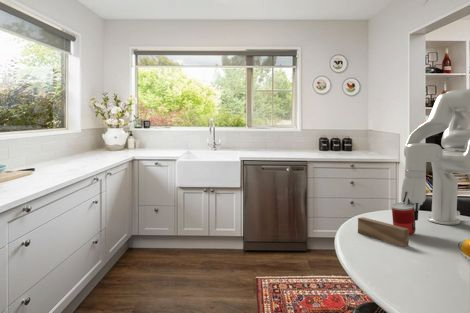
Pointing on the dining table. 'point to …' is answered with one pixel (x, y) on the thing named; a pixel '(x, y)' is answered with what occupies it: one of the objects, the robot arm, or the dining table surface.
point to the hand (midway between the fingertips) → (413, 219)
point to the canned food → (404, 216)
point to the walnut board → (383, 231)
